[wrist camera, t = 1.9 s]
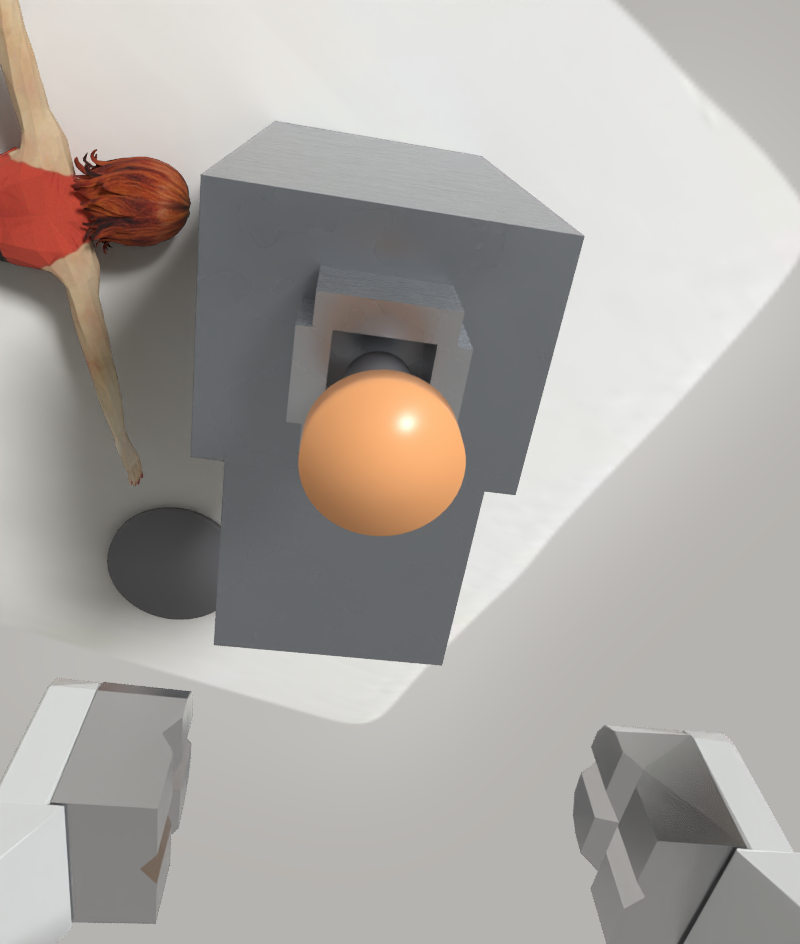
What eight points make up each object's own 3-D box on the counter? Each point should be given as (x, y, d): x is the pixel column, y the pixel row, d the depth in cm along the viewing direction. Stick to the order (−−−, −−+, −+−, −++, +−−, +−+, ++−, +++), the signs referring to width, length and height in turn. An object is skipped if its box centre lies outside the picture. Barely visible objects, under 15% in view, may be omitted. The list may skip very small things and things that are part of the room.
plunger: (304, 436, 20) (290, 526, 16) (318, 310, 18) (307, 376, 14) (431, 452, 20) (448, 544, 16) (456, 330, 19) (481, 400, 15)
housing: (252, 413, 43) (168, 696, 24) (275, 120, 36) (179, 189, 17) (427, 435, 44) (478, 721, 25) (481, 156, 37) (611, 257, 18)
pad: (111, 607, 49) (108, 613, 48) (108, 500, 45) (106, 505, 45) (237, 619, 50) (236, 624, 49) (245, 515, 46) (243, 520, 46)
